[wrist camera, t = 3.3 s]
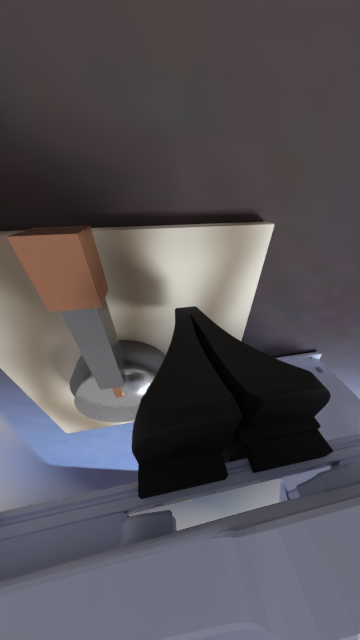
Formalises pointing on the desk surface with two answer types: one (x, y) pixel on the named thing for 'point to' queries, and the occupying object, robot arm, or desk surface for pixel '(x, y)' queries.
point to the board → (129, 303)
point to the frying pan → (84, 316)
